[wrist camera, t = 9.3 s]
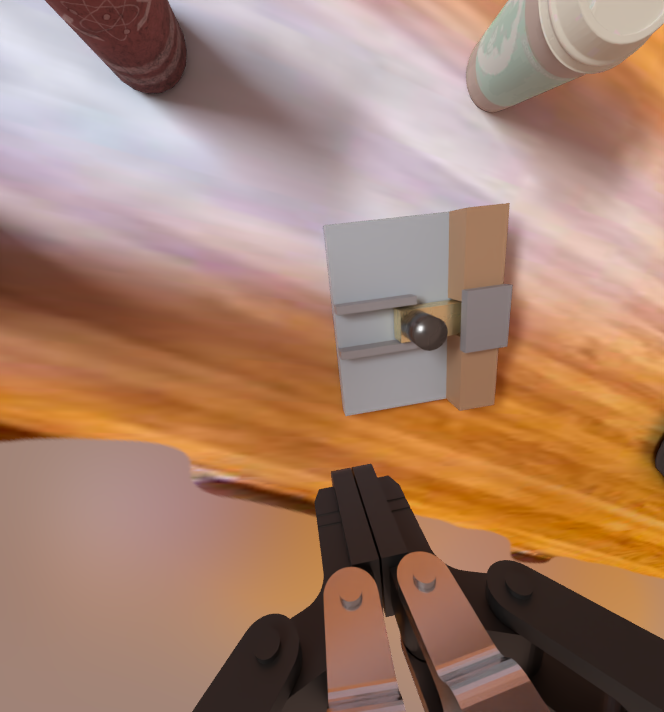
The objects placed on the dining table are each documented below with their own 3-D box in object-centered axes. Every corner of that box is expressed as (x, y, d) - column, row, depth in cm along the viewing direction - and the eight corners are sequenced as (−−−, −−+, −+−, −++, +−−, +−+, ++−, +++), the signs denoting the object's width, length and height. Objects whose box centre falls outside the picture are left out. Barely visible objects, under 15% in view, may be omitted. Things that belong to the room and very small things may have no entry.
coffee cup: (500, -17, 26) (667, -221, 15) (557, 69, 29) (734, -47, 17) (431, 78, 27) (536, -42, 16) (491, 151, 30) (616, 93, 19)
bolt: (394, 337, 33) (415, 354, 28) (393, 307, 32) (414, 318, 27) (483, 324, 34) (519, 337, 29) (484, 294, 33) (522, 303, 28)
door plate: (343, 409, 37) (353, 435, 31) (323, 226, 30) (331, 221, 25) (472, 387, 38) (501, 408, 33) (481, 209, 32) (519, 201, 26)
